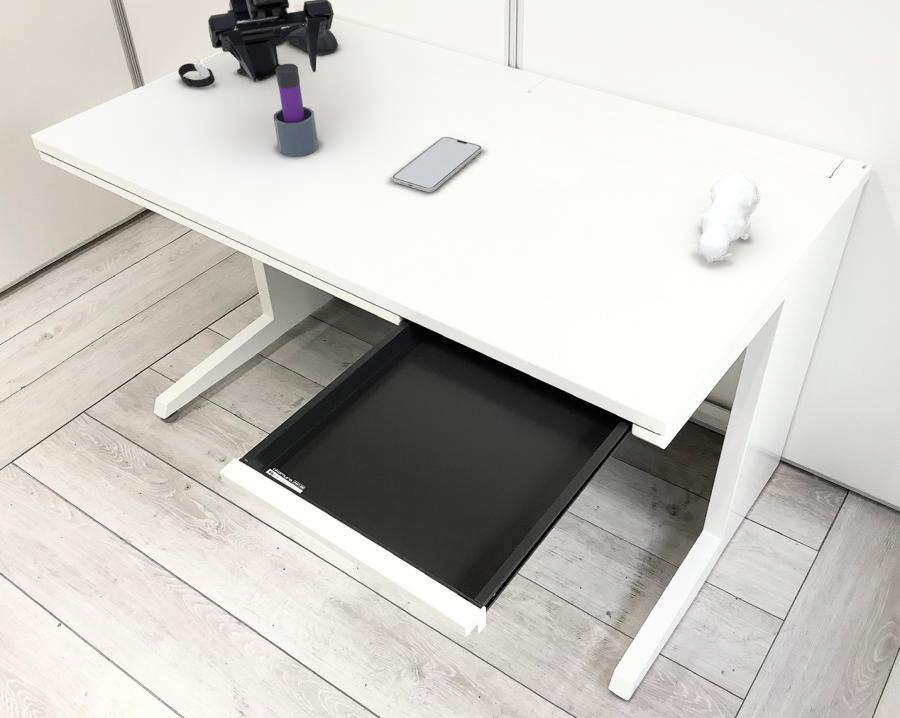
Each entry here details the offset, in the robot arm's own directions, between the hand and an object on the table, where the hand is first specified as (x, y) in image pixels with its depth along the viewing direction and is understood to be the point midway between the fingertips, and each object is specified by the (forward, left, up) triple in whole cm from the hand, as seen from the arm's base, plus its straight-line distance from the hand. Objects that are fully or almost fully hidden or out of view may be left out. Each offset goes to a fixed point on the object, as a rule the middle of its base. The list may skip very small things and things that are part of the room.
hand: (285, 76), depth 136 cm
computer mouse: (-30, -27, -11) cm, 41 cm away
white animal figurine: (-11, +68, -11) cm, 70 cm away
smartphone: (-7, +24, -11) cm, 27 cm away
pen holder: (+1, +2, -11) cm, 11 cm away
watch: (-6, -31, -11) cm, 33 cm away
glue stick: (+1, +2, -10) cm, 11 cm away
